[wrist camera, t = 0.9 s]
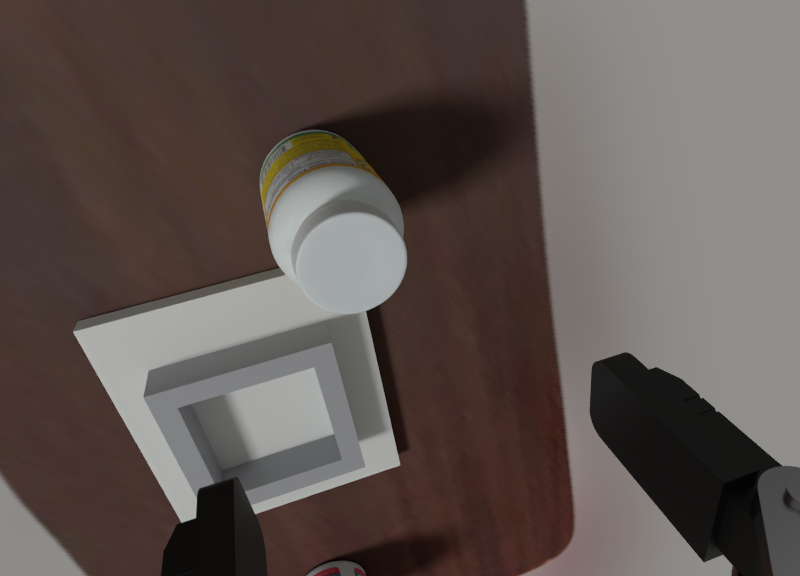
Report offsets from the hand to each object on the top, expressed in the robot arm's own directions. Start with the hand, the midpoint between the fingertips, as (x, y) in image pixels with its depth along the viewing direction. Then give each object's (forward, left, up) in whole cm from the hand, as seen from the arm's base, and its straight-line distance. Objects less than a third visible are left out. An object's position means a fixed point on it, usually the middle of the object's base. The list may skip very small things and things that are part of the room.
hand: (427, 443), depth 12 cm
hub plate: (+12, -6, -18) cm, 22 cm away
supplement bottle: (0, 0, -18) cm, 18 cm away
